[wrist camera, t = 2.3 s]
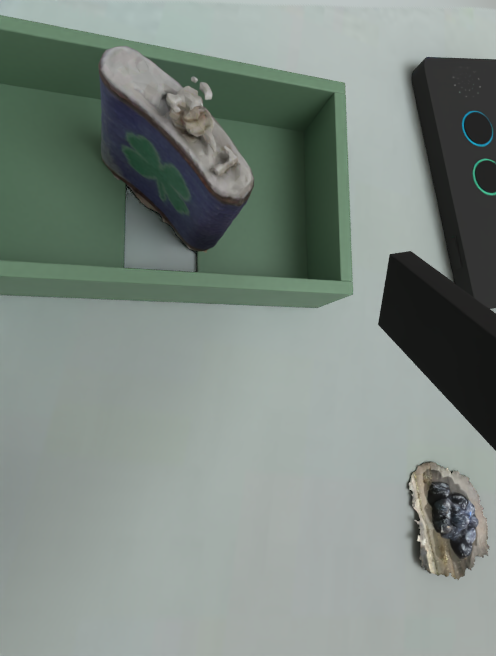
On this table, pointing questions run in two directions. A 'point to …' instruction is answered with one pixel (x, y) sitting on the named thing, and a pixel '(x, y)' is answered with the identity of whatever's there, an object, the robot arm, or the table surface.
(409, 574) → the table surface
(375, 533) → the table surface
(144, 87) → the flask
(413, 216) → the table surface
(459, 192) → the smart home device
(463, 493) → the geode half
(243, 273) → the open box
